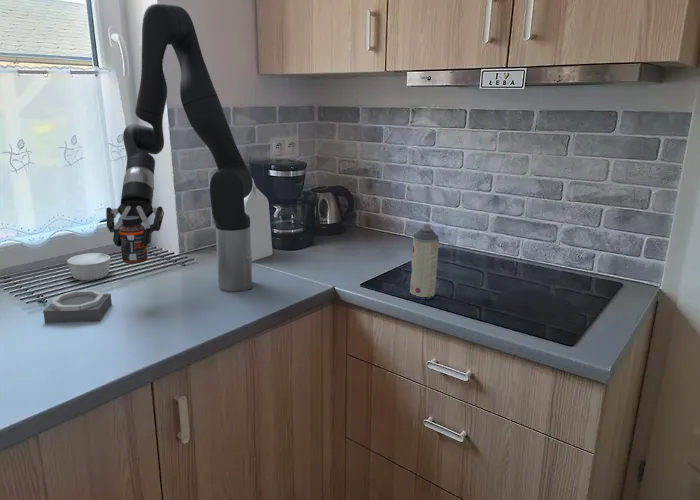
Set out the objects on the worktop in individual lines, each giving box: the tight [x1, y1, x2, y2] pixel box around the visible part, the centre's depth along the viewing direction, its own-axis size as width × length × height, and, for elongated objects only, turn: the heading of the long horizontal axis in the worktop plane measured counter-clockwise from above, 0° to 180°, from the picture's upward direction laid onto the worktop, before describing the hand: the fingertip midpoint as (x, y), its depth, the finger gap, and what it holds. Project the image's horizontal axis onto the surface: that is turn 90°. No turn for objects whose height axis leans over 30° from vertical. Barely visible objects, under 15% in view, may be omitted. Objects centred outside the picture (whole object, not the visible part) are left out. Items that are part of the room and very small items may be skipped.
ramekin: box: [66, 252, 111, 281], centre depth 153 cm, size 11×11×5 cm
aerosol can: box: [409, 223, 440, 297], centre depth 142 cm, size 7×7×20 cm
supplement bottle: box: [119, 216, 148, 265], centre depth 132 cm, size 6×6×11 cm
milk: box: [244, 177, 273, 262], centre depth 172 cm, size 12×12×26 cm
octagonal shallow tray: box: [42, 289, 113, 324], centre depth 128 cm, size 12×10×4 cm
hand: (131, 244), depth 130 cm, fingers closed on supplement bottle, 6 cm apart
